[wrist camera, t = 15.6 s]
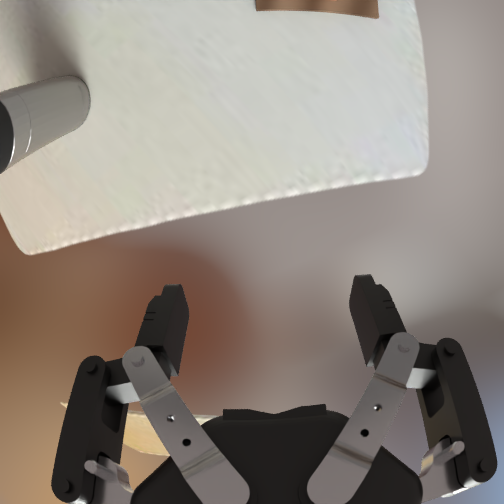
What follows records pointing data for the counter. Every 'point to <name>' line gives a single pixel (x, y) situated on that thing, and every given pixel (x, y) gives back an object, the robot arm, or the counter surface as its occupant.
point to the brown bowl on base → (323, 6)
